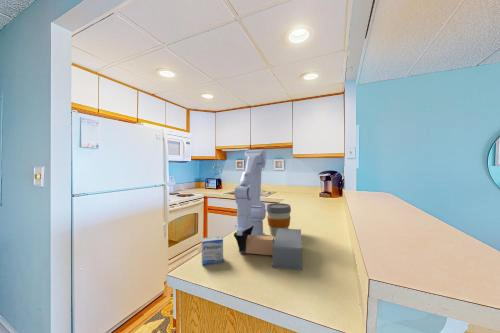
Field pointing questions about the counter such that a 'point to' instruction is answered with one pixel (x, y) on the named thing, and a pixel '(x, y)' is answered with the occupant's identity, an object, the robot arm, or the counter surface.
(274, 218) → the reusable coffee cup
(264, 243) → the grey and tan block
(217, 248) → the medicine box
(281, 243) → the block
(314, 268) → the counter surface
